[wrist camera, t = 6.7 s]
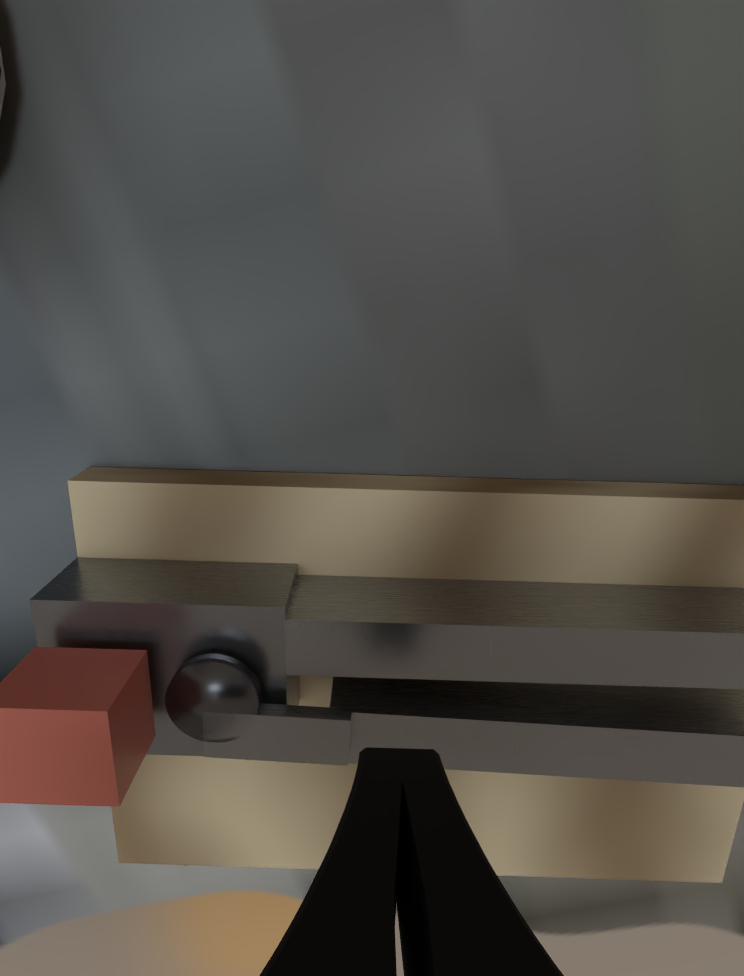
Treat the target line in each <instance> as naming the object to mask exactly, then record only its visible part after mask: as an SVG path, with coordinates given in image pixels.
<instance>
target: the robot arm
mask: <svg viewBox="0 0 744 976" xmlns="http://www.w3.org/2000/svg"><path fill="white" fill-rule="evenodd" d="M396 901H397V911H398V919H399V920H398V921H399V930H400V940H401V950H402V960H403V969H404V976H564V975H563V974H562V973H561V971H560V970H559V969H558V967H557V966H556V965H555V963H554V962H553V961H552V959H551V958H550V956H549V955H548V954H547V952H546V951H545V949H544V948H543V946H542V945H541V944H540V942H539V941H538V939H537V938H536V936H535V935H534V933H533V932H532V930H531V929H530V927H529V926H528V924H527V923H526V921H525V920H524V918H523V917H522V915H521V914H520V912H519V911H518V909H517V908H516V906H515V904H514V903H513V901H512V900H511V898H510V896H509V895H508V893H507V891H506V890H505V888H504V886H503V885H502V883H501V881H500V880H499V878H498V877H497V875H496V873H495V871H494V870H493V868H492V866H491V864H490V863H489V861H488V859H487V857H486V855H485V854H484V852H483V850H482V848H481V846H480V844H479V842H478V841H477V839H476V837H475V835H474V833H473V831H472V829H471V827H470V825H469V823H468V821H467V819H466V817H465V815H464V813H463V811H462V809H461V807H460V805H459V803H458V801H457V798H456V796H455V794H454V792H453V790H452V787H451V785H450V783H449V780H448V778H447V775H446V773H445V770H444V767H443V764H442V761H441V758H440V755H439V754H438V753H437V752H436V751H435V750H434V749H408V748H373V747H366V748H364V749H363V750H362V751H361V752H359V759H358V766H357V770H356V774H355V778H354V782H353V785H352V788H351V792H350V794H349V797H348V800H347V803H346V806H345V809H344V812H343V814H342V817H341V819H340V822H339V824H338V827H337V829H336V832H335V834H334V837H333V839H332V842H331V844H330V846H329V849H328V851H327V853H326V855H325V857H324V859H323V861H322V863H321V865H320V868H319V870H318V872H317V874H316V876H315V878H314V880H313V882H312V884H311V886H310V888H309V890H308V892H307V894H306V896H305V898H304V900H303V902H302V904H301V906H300V908H299V910H298V912H297V913H296V915H295V917H294V919H293V921H292V922H291V924H290V926H289V928H288V930H287V931H286V933H285V935H284V936H283V938H282V940H281V942H280V943H279V945H278V947H277V948H276V950H275V952H274V953H273V955H272V957H271V959H270V960H269V961H268V963H267V965H266V966H265V968H264V969H263V971H262V973H261V974H260V976H396V951H395V913H396Z"/></svg>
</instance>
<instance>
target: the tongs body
mask: <svg viewBox="0 0 744 976" xmlns="http://www.w3.org/2000/svg"><path fill="white" fill-rule="evenodd" d="M30 604H31V610H32V616H33V622H34V628H35V634H36V640H37V646H38V647H61V648H94V649H127V650H147V655H148V664H149V674H150V684H151V694H152V704H153V714H154V723H155V733H156V736H155V738H154V740H153V742H152V744H151V746H150V748H149V749H148V751H147V753H146V755H177V756H204V742H203V741H200V740H197V739H194V738H192V737H190V736H188V735H186V734H185V733H183V732H182V731H181V730H179V729H178V728H177V727H176V726H175V724H174V723H173V722H172V720H171V719H170V717H169V715H168V713H167V710H166V706H165V695H166V690H167V688H168V685H169V684H170V682H171V680H172V678H173V676H174V674H175V672H176V671H177V669H178V668H179V667H180V666H181V665H182V664H183V663H184V662H186V661H187V660H189V659H191V658H193V657H195V656H198V655H203V654H222V655H227V656H230V657H233V658H235V659H237V660H239V661H241V662H242V663H244V664H245V665H246V666H247V667H249V668H250V669H251V671H252V672H253V673H254V674H255V676H256V677H257V679H258V681H259V684H260V687H261V692H262V699H261V703H266V704H282V705H299V702H300V676H329V677H361V678H393V679H426V680H458V681H490V682H523V683H555V684H588V685H620V686H652V687H685V688H717V689H744V588H732V587H698V586H664V585H631V584H597V583H563V582H529V581H496V580H462V579H428V578H394V577H361V576H327V575H298V564H291V563H257V562H223V561H189V560H155V559H121V558H87V557H77V558H76V559H75V560H74V561H73V562H72V563H71V564H70V565H68V566H67V567H66V568H65V569H64V570H63V571H62V572H61V573H59V574H58V575H57V576H56V577H55V578H54V579H53V580H52V581H50V582H49V583H48V584H47V585H46V586H45V587H44V588H42V589H41V590H40V591H39V592H38V593H37V594H36V595H35V596H33V597H32V598H31V599H30Z"/></svg>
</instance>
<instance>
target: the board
mask: <svg viewBox="0 0 744 976" xmlns="http://www.w3.org/2000/svg"><path fill="white" fill-rule="evenodd" d="M68 488H69V496H70V503H71V510H72V518H73V525H74V533H75V540H76V548H77V555H78V557H87V558H121V559H155V560H189V561H223V562H257V563H291V564H298V575H327V576H361V577H394V578H428V579H462V580H496V581H529V582H563V583H597V584H631V585H664V586H698V587H732V588H744V485H714V484H679V483H644V482H608V481H573V480H538V479H503V478H467V477H432V476H397V475H361V474H326V473H291V472H256V471H220V470H185V469H150V468H115V467H89V468H87V469H86V470H84V471H82V472H81V473H79V474H78V475H76V476H74V477H73V478H71V479H69V480H68ZM332 685H333V677H329V676H300V702H299V706H315V707H330V701H331V693H332ZM357 766H358V764H348V766H342V765H325V764H309V763H292V762H276V761H259V760H242V759H226V758H209V757H204V756H177V755H145V757H144V759H143V761H142V763H141V765H140V767H139V769H138V771H137V773H136V775H135V777H134V779H133V781H132V783H131V785H130V787H129V789H128V791H127V793H126V795H125V797H124V799H123V801H122V803H121V805H120V807H116V806H111V807H112V815H113V822H114V830H115V837H116V845H117V852H118V859H119V863H142V864H172V865H202V866H233V867H263V868H293V869H319V868H320V865H321V863H322V861H323V859H324V857H325V855H326V853H327V851H328V849H329V846H330V844H331V842H332V839H333V837H334V834H335V832H336V829H337V827H338V824H339V822H340V819H341V817H342V814H343V812H344V809H345V806H346V803H347V800H348V797H349V794H350V792H351V788H352V785H353V782H354V778H355V774H356V770H357ZM444 770H445V773H446V775H447V778H448V780H449V783H450V785H451V787H452V790H453V792H454V794H455V796H456V798H457V801H458V803H459V805H460V807H461V809H462V811H463V813H464V815H465V817H466V819H467V821H468V823H469V825H470V827H471V829H472V831H473V833H474V835H475V837H476V839H477V841H478V842H479V844H480V846H481V848H482V850H483V852H484V854H485V855H486V857H487V859H488V861H489V863H490V864H491V866H492V868H493V870H494V871H495V873H496V875H503V876H533V877H563V878H593V879H623V880H653V881H683V882H713V883H722V881H723V877H724V873H725V869H726V866H727V862H728V858H729V854H730V851H731V847H732V843H733V840H734V836H735V832H736V828H737V825H738V821H739V817H740V813H741V810H742V806H743V802H744V787H728V786H712V785H695V784H679V783H662V782H645V781H629V780H612V779H596V778H579V777H563V776H546V775H529V774H513V773H496V772H480V771H463V770H447V769H444Z"/></svg>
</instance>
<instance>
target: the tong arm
mask: <svg viewBox="0 0 744 976" xmlns="http://www.w3.org/2000/svg"><path fill="white" fill-rule="evenodd" d="M261 699H262V692H261V687H260V684H259V681H258V679H257V677H256V676H255V674H254V673H253V672H252V671H251V669H250V668H249V667H247V666H246V665H245V664H244V663H242V662H241V661H239V660H237V659H235V658H233V657H230V656H227V655H222V654H203V655H198V656H195V657H193V658H191V659H189V660H187V661H186V662H184V663H183V664H182V665H181V666H180V667H179V668H178V669H177V671H176V672H175V674H174V676H173V678H172V680H171V682H170V684H169V685H168V688H167V690H166V695H165V706H166V710H167V713H168V715H169V717H170V719H171V720H172V722H173V723H174V724H175V726H176V727H177V728H178V729H179V730H181V731H182V732H183V733H185V734H186V735H188V736H190V737H192V738H194V739H197V740H200V741H203V742H204V757H209V758H226V759H242V760H259V761H276V762H292V763H309V764H325V765H342V766H348V764H358V759H359V752H361V751H362V750H363V749H364V748H366V747H373V748H408V749H434V750H435V751H436V752H437V753H438V754H439V755H440V758H441V761H442V764H443V767H444V769H447V770H463V771H480V772H496V773H513V774H529V775H546V776H563V777H579V778H596V779H612V780H629V781H645V782H662V783H679V784H695V785H712V786H728V787H744V689H717V688H685V687H652V686H620V685H588V684H555V683H523V682H490V681H458V680H426V679H393V678H361V677H333V685H332V693H331V701H330V707H315V706H299V705H282V704H266V703H261Z"/></svg>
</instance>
